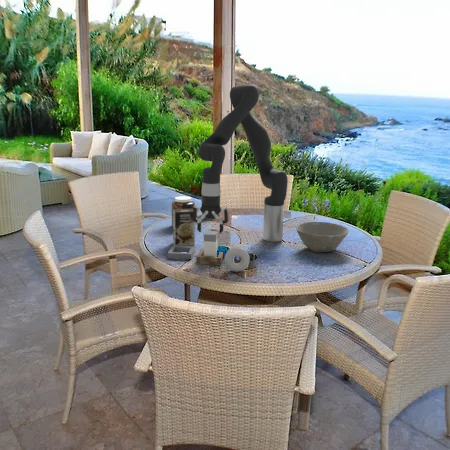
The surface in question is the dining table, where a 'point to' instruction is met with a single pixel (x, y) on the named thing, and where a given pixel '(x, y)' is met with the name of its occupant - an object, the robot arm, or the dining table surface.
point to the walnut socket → (209, 258)
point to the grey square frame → (176, 251)
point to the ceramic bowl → (321, 235)
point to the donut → (236, 252)
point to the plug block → (210, 243)
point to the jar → (182, 204)
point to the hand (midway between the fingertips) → (210, 232)
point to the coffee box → (183, 227)
